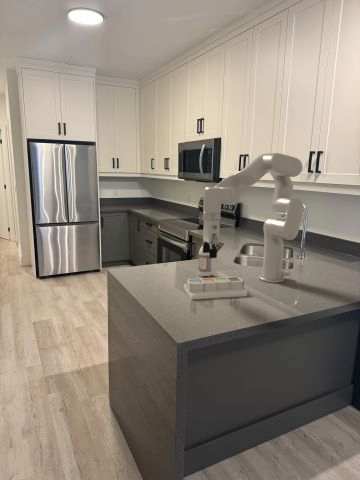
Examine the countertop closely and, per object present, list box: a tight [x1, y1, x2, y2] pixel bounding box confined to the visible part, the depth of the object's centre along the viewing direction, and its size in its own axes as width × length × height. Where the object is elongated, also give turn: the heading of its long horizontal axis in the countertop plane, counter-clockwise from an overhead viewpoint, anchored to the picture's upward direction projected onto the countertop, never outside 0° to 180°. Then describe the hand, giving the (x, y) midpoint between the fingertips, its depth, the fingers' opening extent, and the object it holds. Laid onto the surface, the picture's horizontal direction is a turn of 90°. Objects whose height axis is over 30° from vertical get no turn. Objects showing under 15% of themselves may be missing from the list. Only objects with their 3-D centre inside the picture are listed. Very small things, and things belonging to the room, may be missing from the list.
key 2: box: [215, 279, 227, 282], centre depth 147 cm, size 4×4×2 cm
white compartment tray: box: [183, 276, 248, 300], centre depth 147 cm, size 25×14×6 cm, turn 102°
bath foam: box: [197, 239, 213, 277], centre depth 170 cm, size 7×7×20 cm
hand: (209, 255), depth 143 cm, fingers open, 9 cm apart
